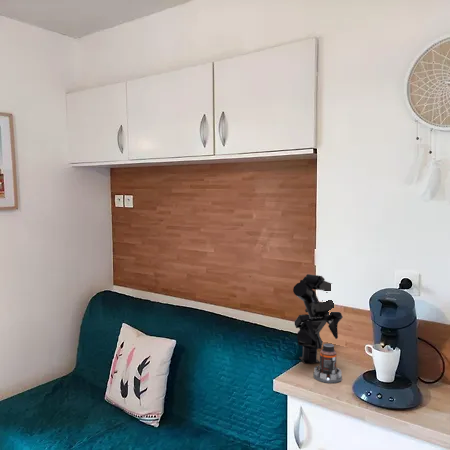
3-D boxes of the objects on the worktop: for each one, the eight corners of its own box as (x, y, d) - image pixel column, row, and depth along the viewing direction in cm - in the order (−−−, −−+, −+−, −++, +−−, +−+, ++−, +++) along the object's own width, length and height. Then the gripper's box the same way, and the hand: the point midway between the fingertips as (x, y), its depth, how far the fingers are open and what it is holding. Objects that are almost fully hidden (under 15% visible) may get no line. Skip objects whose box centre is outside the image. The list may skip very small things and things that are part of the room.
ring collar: (309, 372, 173) (309, 365, 173) (334, 371, 175) (334, 363, 175) (320, 384, 163) (320, 376, 162) (347, 382, 165) (347, 374, 165)
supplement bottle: (338, 377, 166) (339, 347, 166) (322, 378, 166) (324, 348, 165) (331, 371, 172) (333, 342, 172) (317, 371, 171) (318, 342, 171)
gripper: (299, 294, 171) (313, 331, 161) (341, 291, 178) (357, 327, 168) (288, 309, 179) (301, 345, 169) (328, 306, 185) (343, 341, 176)
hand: (326, 339), depth 170 cm, fingers open, 9 cm apart
